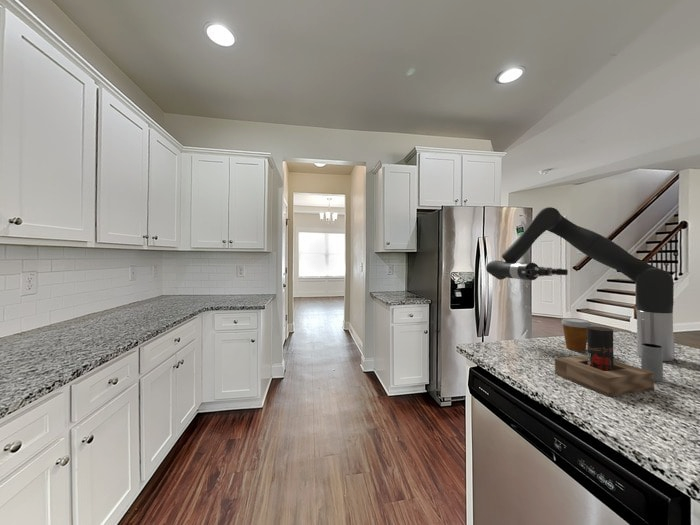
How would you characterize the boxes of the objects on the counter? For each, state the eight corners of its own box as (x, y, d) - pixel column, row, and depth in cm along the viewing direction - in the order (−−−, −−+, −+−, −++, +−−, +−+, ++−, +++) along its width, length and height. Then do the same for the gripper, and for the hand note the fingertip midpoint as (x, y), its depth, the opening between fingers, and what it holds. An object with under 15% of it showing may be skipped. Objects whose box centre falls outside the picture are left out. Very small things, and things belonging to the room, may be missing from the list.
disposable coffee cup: (578, 353, 112) (578, 323, 112) (555, 346, 121) (555, 318, 121) (597, 351, 114) (596, 321, 114) (573, 344, 124) (573, 317, 123)
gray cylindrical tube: (667, 382, 86) (667, 347, 85) (649, 381, 86) (649, 347, 86) (654, 376, 90) (654, 343, 90) (637, 375, 91) (637, 342, 91)
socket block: (594, 369, 96) (594, 354, 96) (654, 390, 80) (653, 372, 80) (555, 373, 93) (554, 358, 93) (608, 396, 77) (608, 378, 77)
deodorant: (582, 374, 90) (582, 326, 89) (600, 373, 90) (599, 326, 90) (600, 382, 84) (600, 331, 84) (619, 381, 84) (618, 330, 84)
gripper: (509, 262, 124) (542, 263, 108) (537, 262, 127) (572, 262, 111) (510, 280, 124) (542, 282, 108) (537, 279, 127) (573, 281, 111)
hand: (557, 272), depth 110 cm, fingers open, 8 cm apart
